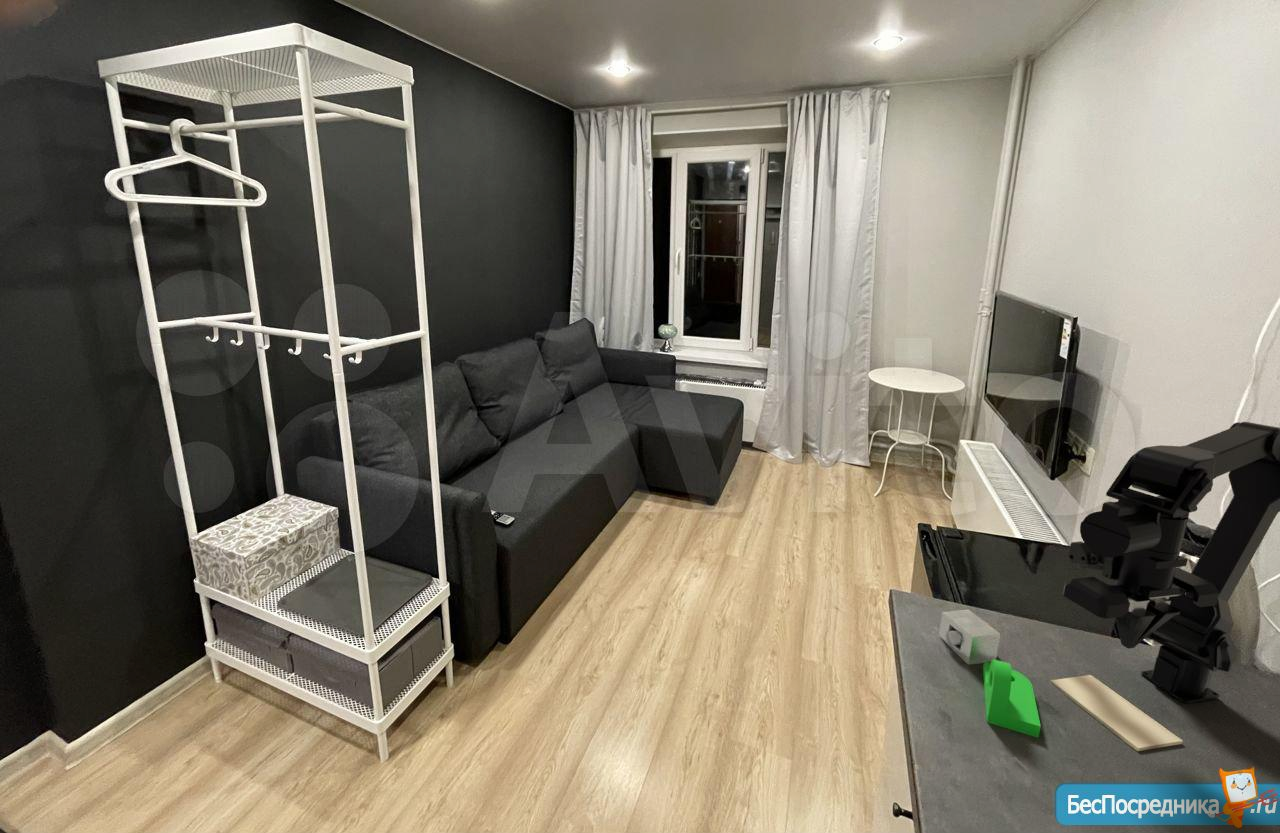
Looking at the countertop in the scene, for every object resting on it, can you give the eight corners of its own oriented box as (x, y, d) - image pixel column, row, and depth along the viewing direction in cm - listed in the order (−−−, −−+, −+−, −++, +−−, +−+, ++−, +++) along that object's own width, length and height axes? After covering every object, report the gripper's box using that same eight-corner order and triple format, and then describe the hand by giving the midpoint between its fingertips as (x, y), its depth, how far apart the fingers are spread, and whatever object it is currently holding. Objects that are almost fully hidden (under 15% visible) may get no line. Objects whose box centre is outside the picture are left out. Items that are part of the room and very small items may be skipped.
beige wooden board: (1090, 677, 89) (1090, 674, 89) (1182, 743, 76) (1182, 740, 76) (1050, 683, 88) (1050, 680, 88) (1137, 751, 75) (1138, 748, 75)
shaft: (979, 636, 97) (982, 617, 96) (995, 649, 94) (999, 630, 93) (941, 641, 96) (944, 622, 95) (956, 654, 92) (959, 635, 92)
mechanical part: (1038, 739, 77) (1048, 688, 75) (986, 723, 80) (995, 673, 78) (1027, 684, 88) (1036, 638, 86) (982, 672, 90) (989, 627, 88)
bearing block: (963, 637, 99) (968, 609, 97) (995, 663, 92) (1000, 633, 91) (938, 640, 98) (942, 612, 97) (967, 667, 91) (972, 637, 90)
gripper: (1147, 514, 85) (1125, 607, 89) (1039, 523, 82) (1021, 620, 86) (1234, 548, 75) (1206, 653, 78) (1114, 560, 71) (1091, 668, 75)
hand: (1127, 646), depth 80 cm, fingers closed
